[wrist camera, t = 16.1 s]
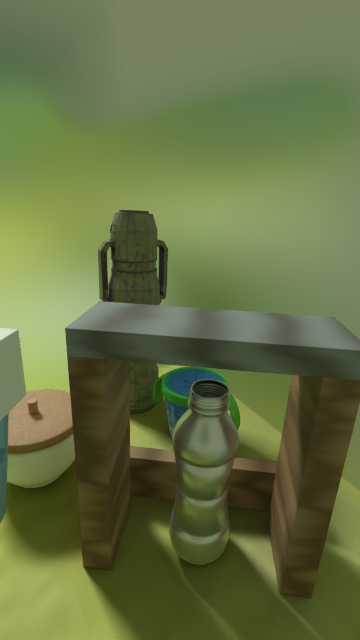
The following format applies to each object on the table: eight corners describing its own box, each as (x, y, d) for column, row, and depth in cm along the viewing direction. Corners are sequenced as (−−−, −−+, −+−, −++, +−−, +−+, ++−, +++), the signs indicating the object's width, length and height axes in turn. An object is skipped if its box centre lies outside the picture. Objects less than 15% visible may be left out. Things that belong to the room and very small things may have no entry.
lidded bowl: (-34, 488, 43) (-50, 416, 39) (36, 431, 54) (29, 370, 51) (46, 519, 39) (37, 443, 35) (103, 450, 50) (100, 387, 47)
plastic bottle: (239, 551, 36) (261, 393, 30) (191, 589, 32) (204, 418, 26) (202, 509, 41) (214, 365, 35) (156, 538, 37) (160, 383, 31)
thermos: (96, 398, 64) (87, 208, 53) (148, 382, 70) (150, 211, 59) (116, 422, 57) (111, 210, 46) (172, 402, 64) (179, 212, 53)
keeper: (286, 500, 43) (323, 307, 35) (310, 597, 32) (372, 351, 24) (115, 480, 45) (109, 293, 36) (83, 566, 34) (65, 328, 26)
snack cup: (136, 427, 56) (136, 374, 53) (178, 403, 63) (181, 355, 60) (209, 478, 46) (215, 416, 43) (249, 442, 53) (256, 387, 50)
